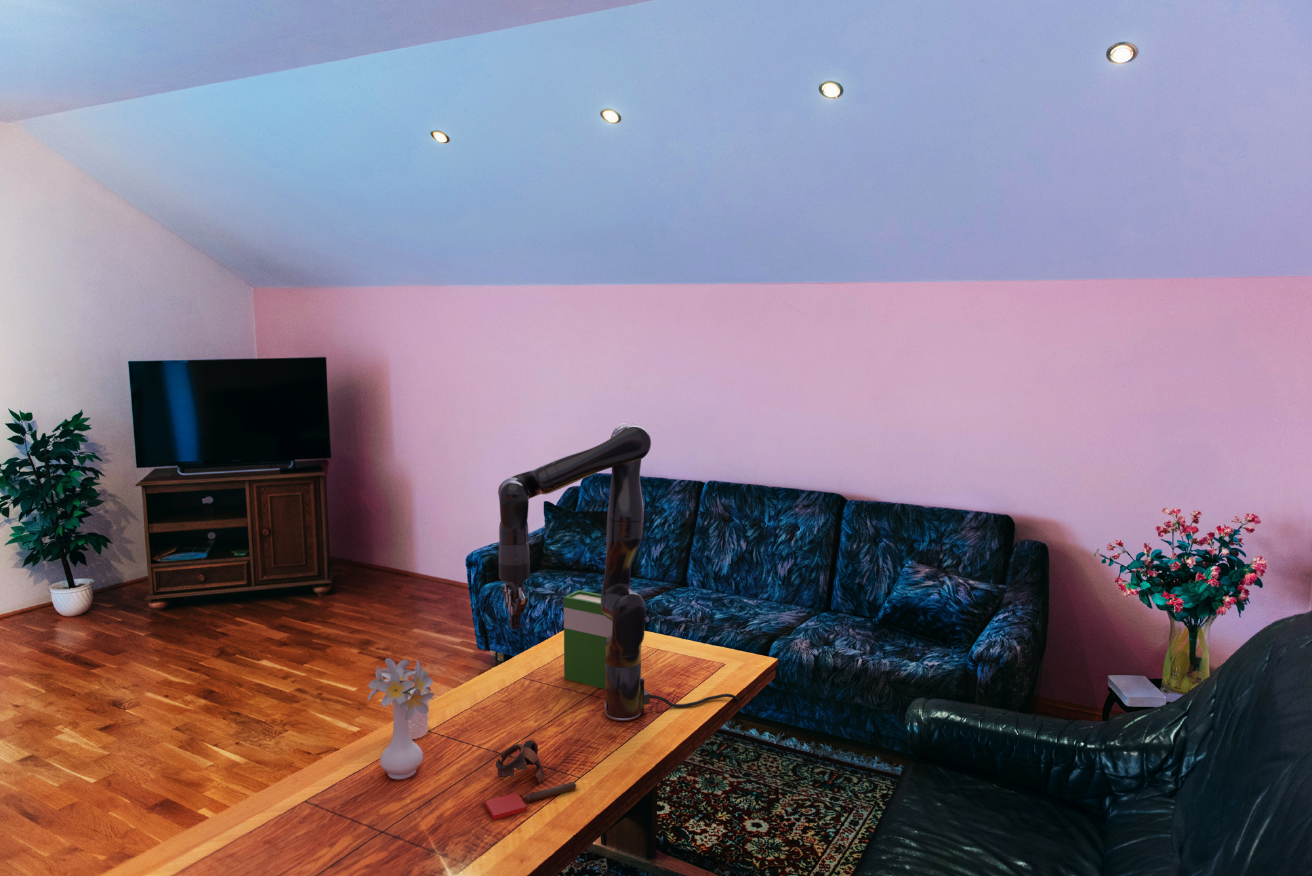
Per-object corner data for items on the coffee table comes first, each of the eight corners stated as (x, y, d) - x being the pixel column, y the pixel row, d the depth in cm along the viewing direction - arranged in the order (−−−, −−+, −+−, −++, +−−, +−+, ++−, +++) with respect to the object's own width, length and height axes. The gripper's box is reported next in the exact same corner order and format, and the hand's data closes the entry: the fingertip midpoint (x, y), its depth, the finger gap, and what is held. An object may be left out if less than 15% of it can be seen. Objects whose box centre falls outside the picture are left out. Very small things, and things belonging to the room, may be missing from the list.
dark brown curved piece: (539, 792, 180) (519, 764, 178) (505, 803, 183) (484, 775, 181) (556, 752, 191) (537, 725, 189) (523, 763, 194) (504, 737, 192)
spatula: (570, 782, 183) (570, 775, 183) (581, 795, 178) (581, 788, 178) (484, 805, 174) (484, 798, 174) (493, 820, 169) (493, 812, 169)
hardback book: (630, 682, 236) (631, 600, 233) (616, 692, 229) (616, 607, 226) (579, 669, 244) (578, 590, 241) (564, 678, 238) (563, 597, 235)
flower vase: (403, 800, 176) (400, 686, 173) (356, 770, 188) (352, 663, 184) (454, 775, 186) (452, 667, 183) (406, 748, 197) (403, 647, 194)
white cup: (436, 728, 208) (435, 690, 206) (417, 743, 200) (416, 703, 199) (409, 723, 210) (408, 685, 209) (389, 737, 203) (388, 698, 201)
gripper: (538, 564, 201) (539, 633, 204) (519, 551, 213) (520, 617, 215) (508, 568, 198) (509, 639, 200) (490, 555, 209) (492, 622, 211)
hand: (515, 627), depth 208 cm, fingers closed
